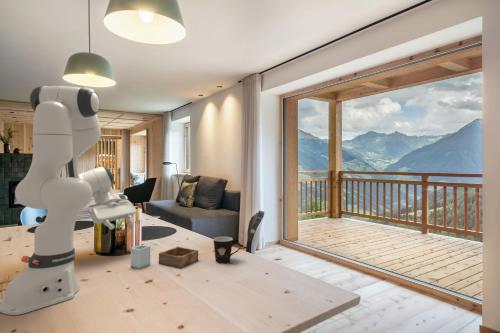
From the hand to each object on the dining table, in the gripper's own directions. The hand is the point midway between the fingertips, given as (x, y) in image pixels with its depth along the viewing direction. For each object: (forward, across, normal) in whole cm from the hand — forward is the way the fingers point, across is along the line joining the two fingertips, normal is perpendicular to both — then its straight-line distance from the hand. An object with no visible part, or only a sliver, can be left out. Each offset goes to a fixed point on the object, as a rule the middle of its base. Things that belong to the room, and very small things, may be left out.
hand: (122, 226), depth 136 cm
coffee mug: (+39, +23, -17) cm, 49 cm away
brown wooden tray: (+27, +12, -5) cm, 30 cm away
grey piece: (+20, -1, +2) cm, 20 cm away
